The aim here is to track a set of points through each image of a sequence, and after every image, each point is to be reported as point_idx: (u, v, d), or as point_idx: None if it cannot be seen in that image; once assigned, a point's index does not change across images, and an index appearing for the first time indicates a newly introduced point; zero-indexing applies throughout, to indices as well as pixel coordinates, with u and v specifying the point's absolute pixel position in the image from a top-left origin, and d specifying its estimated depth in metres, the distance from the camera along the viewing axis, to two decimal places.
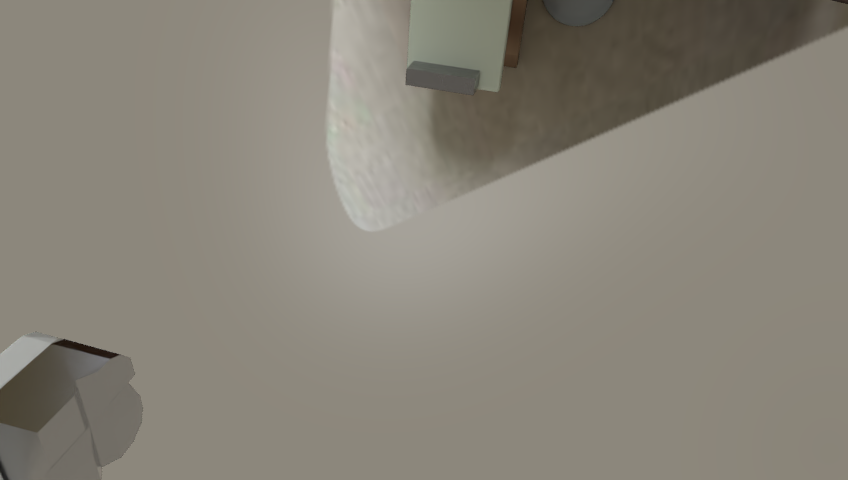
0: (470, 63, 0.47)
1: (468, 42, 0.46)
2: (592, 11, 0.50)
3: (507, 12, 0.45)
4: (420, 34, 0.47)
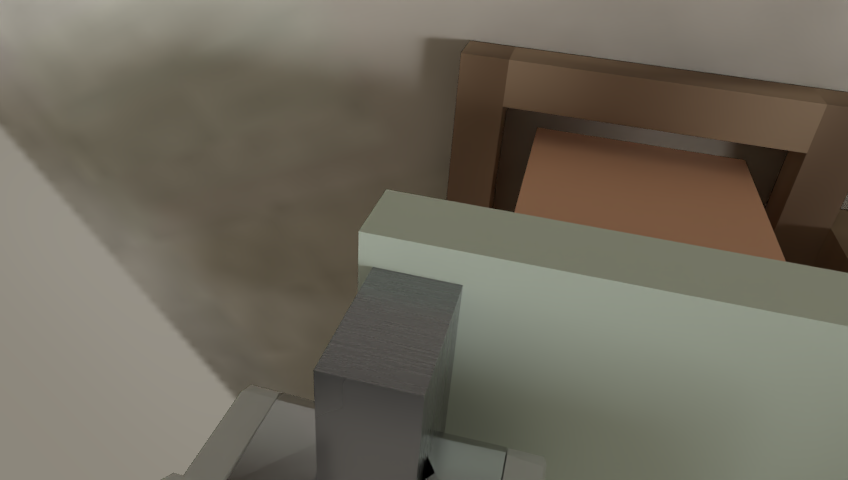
0: None
1: None
2: None
3: None
4: (614, 340, 0.08)
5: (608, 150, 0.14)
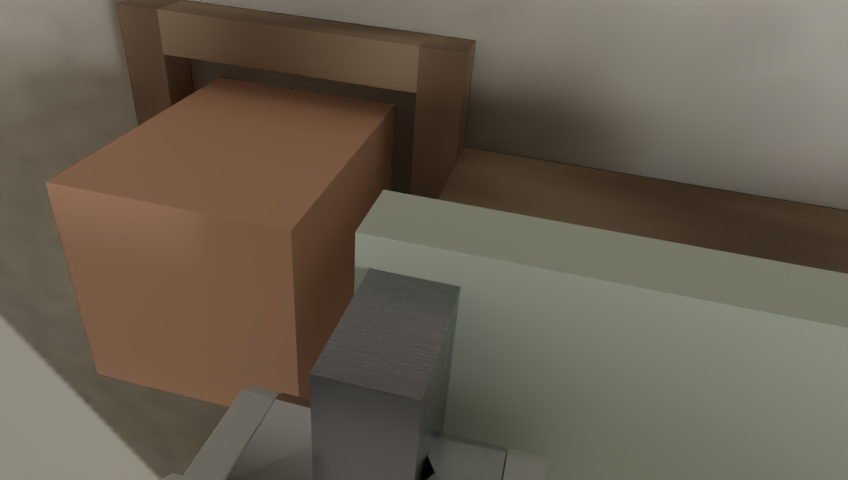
0: None
1: None
2: None
3: None
4: (613, 342, 0.08)
5: (267, 95, 0.15)
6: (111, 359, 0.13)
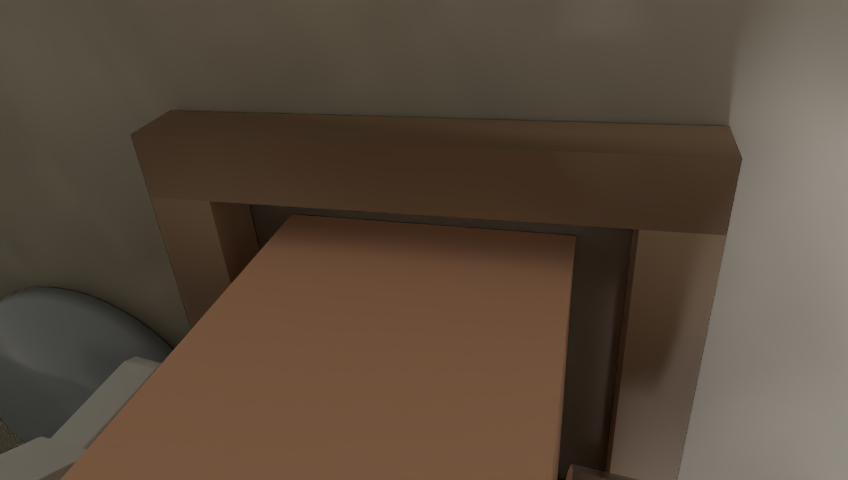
0: None
1: None
2: (4, 345, 0.13)
3: None
4: None
5: (566, 351, 0.10)
6: None
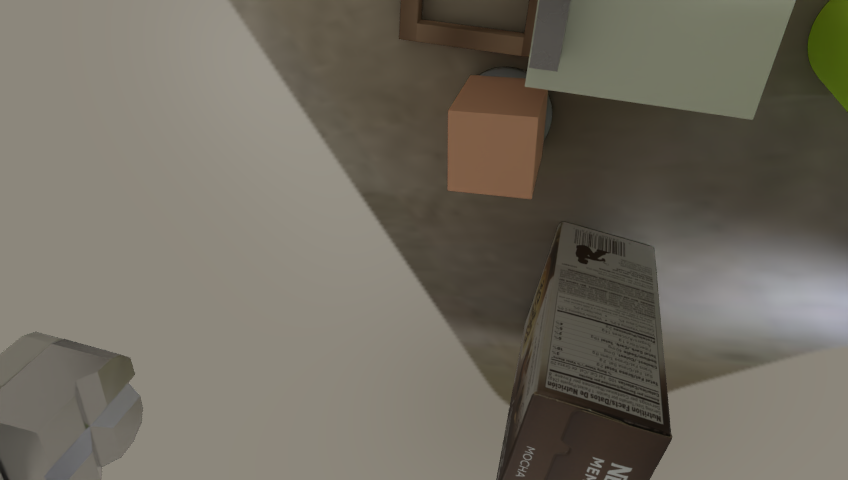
0: (573, 42, 0.28)
1: (609, 39, 0.28)
2: None
3: (651, 102, 0.29)
4: None
5: (545, 111, 0.37)
6: (458, 119, 0.33)
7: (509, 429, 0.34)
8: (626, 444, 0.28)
